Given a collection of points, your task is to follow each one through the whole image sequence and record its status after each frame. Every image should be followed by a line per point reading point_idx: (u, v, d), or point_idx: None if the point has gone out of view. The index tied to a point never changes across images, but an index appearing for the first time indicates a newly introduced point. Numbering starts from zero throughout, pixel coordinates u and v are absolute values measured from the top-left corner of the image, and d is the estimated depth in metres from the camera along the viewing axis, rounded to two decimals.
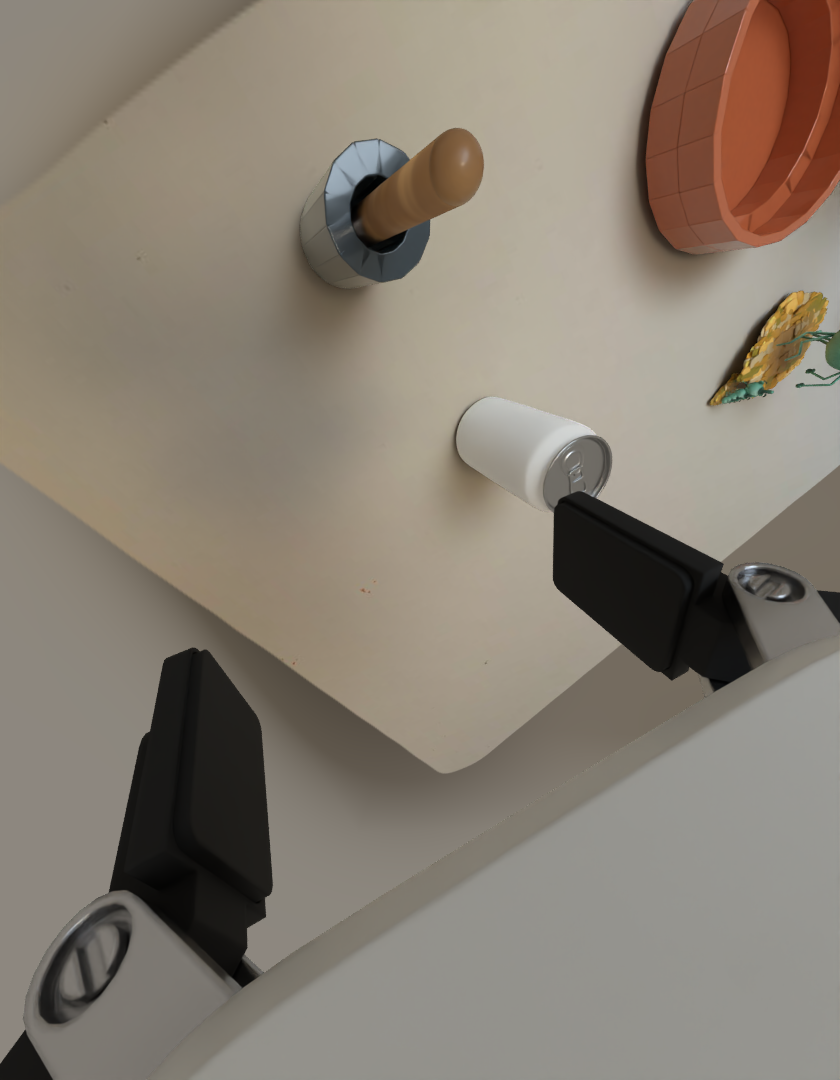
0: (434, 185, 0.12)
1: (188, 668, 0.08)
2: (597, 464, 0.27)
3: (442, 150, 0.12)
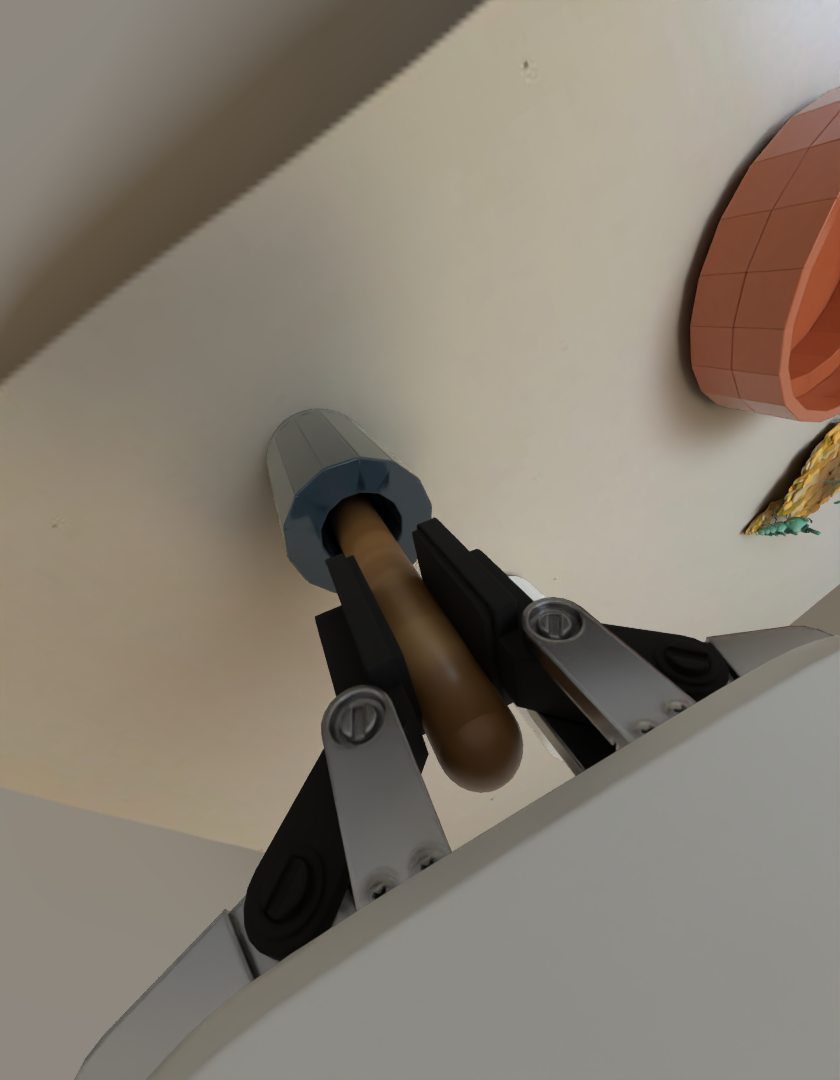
0: None
1: (348, 564, 0.09)
2: None
3: (461, 773, 0.07)
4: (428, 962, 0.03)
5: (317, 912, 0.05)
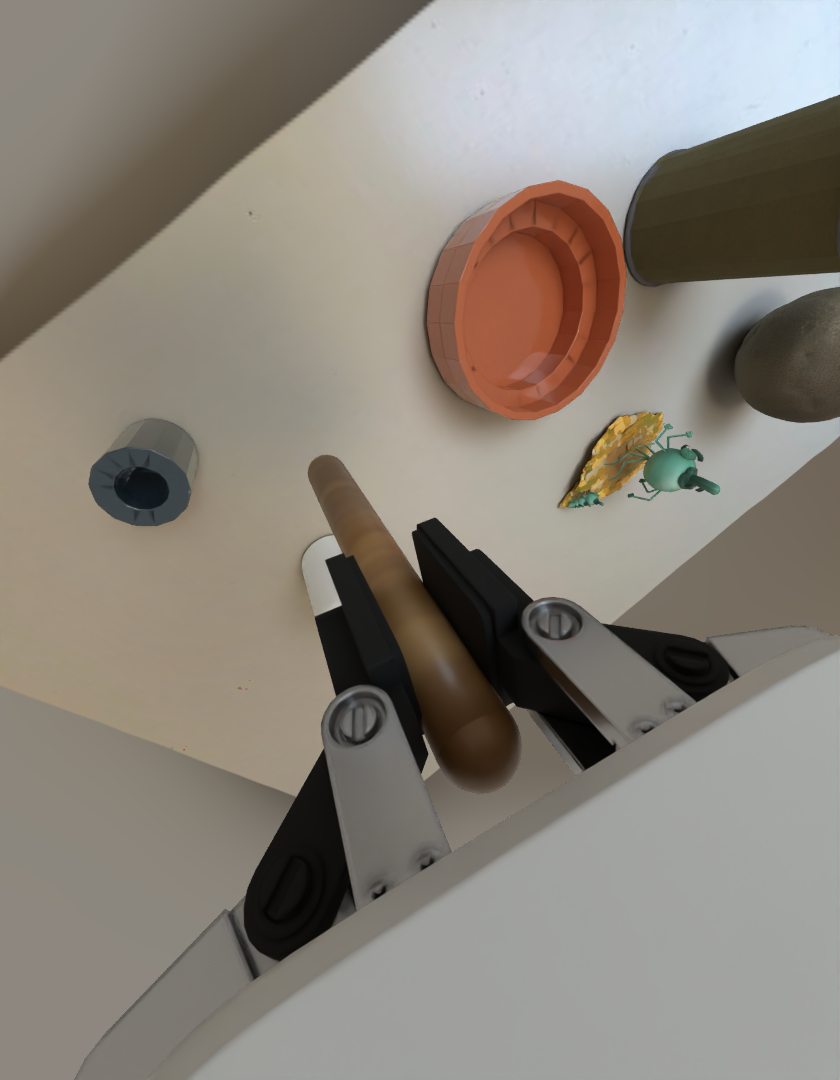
0: None
1: (348, 564, 0.09)
2: None
3: (460, 774, 0.07)
4: (428, 962, 0.03)
5: (317, 912, 0.05)
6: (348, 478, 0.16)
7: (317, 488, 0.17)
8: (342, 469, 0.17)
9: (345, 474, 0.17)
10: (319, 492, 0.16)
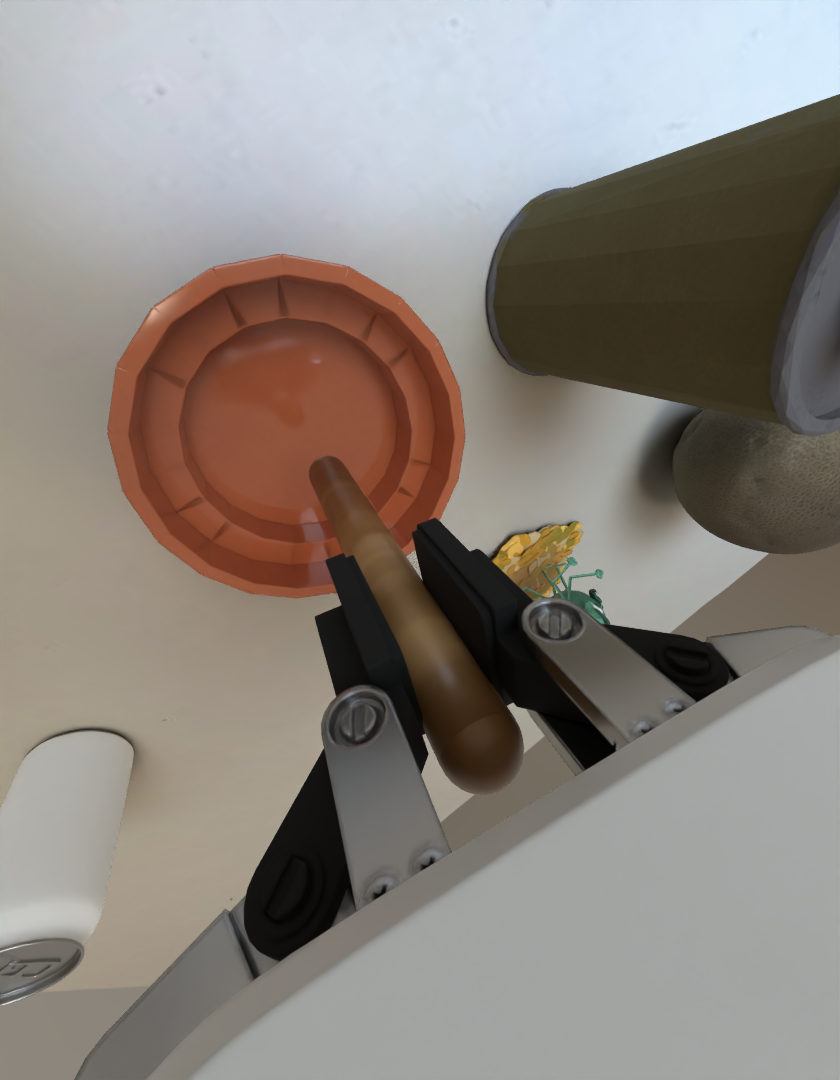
0: None
1: (348, 564, 0.09)
2: (51, 945, 0.20)
3: (462, 775, 0.07)
4: (428, 962, 0.03)
5: (317, 912, 0.05)
6: (349, 479, 0.16)
7: (318, 489, 0.17)
8: (343, 470, 0.17)
9: (346, 475, 0.17)
10: (320, 493, 0.16)
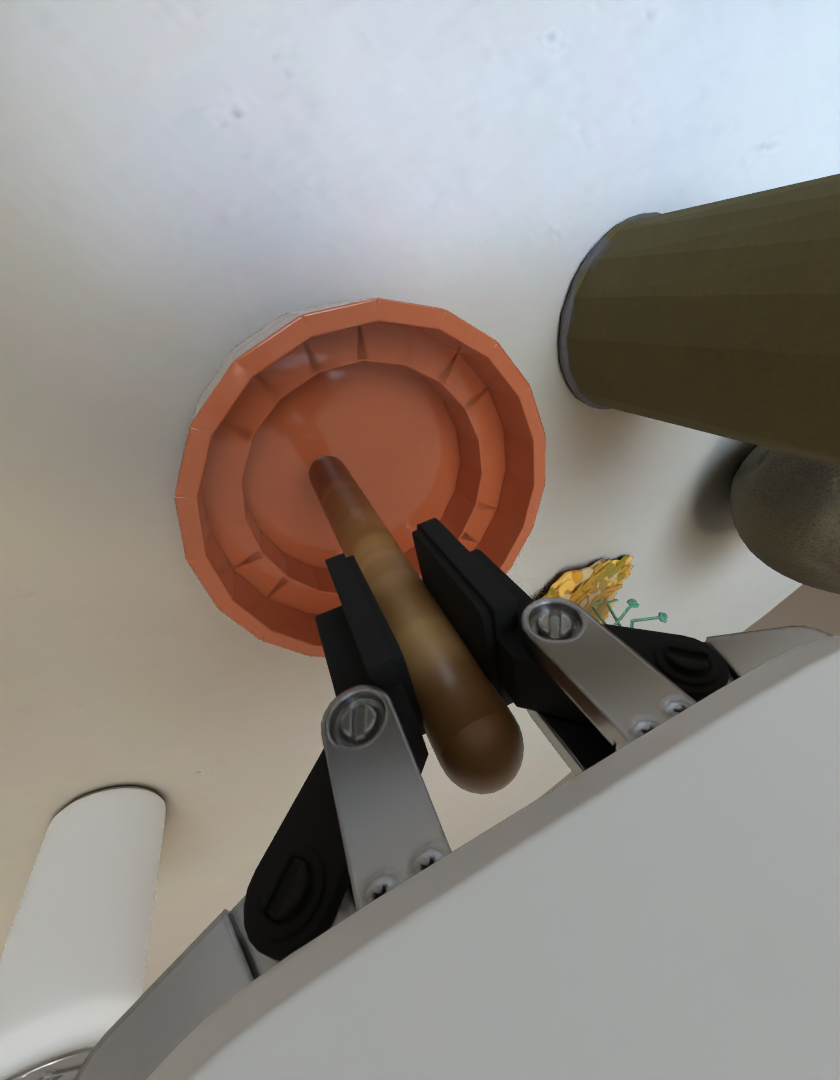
0: None
1: (348, 564, 0.09)
2: None
3: (462, 774, 0.07)
4: (428, 963, 0.03)
5: (317, 912, 0.05)
6: (349, 478, 0.16)
7: (318, 488, 0.17)
8: (343, 469, 0.17)
9: (346, 474, 0.17)
10: (320, 492, 0.16)
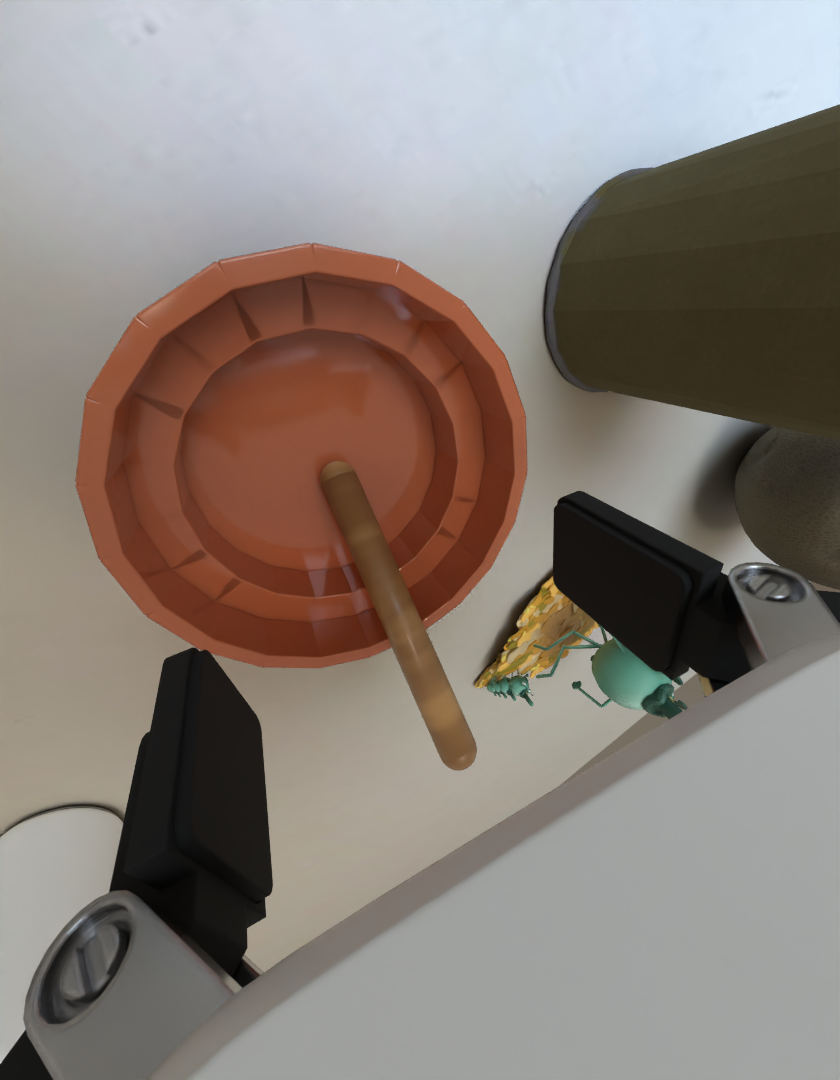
0: (441, 759, 0.18)
1: (188, 668, 0.08)
2: None
3: (456, 769, 0.18)
4: (428, 962, 0.03)
5: None
6: (374, 518, 0.19)
7: (345, 519, 0.18)
8: (366, 499, 0.19)
9: (371, 510, 0.19)
10: (348, 526, 0.18)
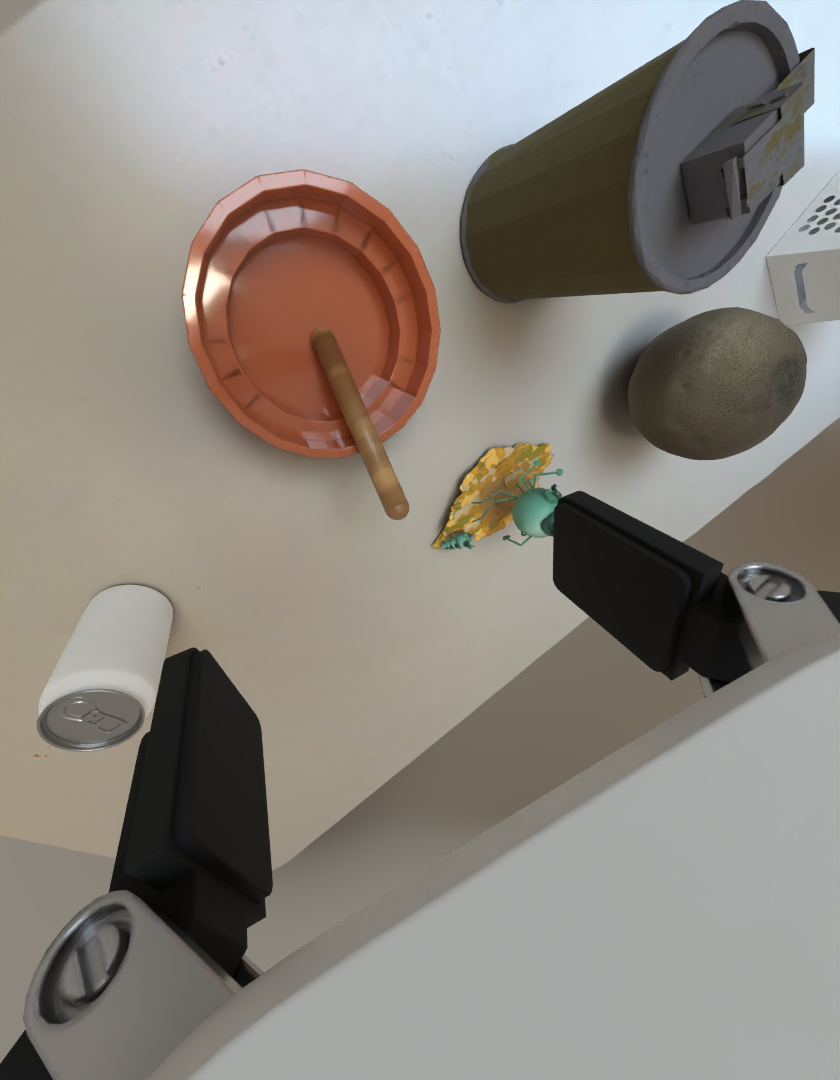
0: (386, 513, 0.29)
1: (188, 668, 0.08)
2: (122, 704, 0.26)
3: (395, 515, 0.28)
4: (428, 962, 0.03)
5: None
6: (345, 363, 0.29)
7: (326, 361, 0.29)
8: (340, 352, 0.29)
9: (343, 358, 0.29)
10: (329, 365, 0.29)
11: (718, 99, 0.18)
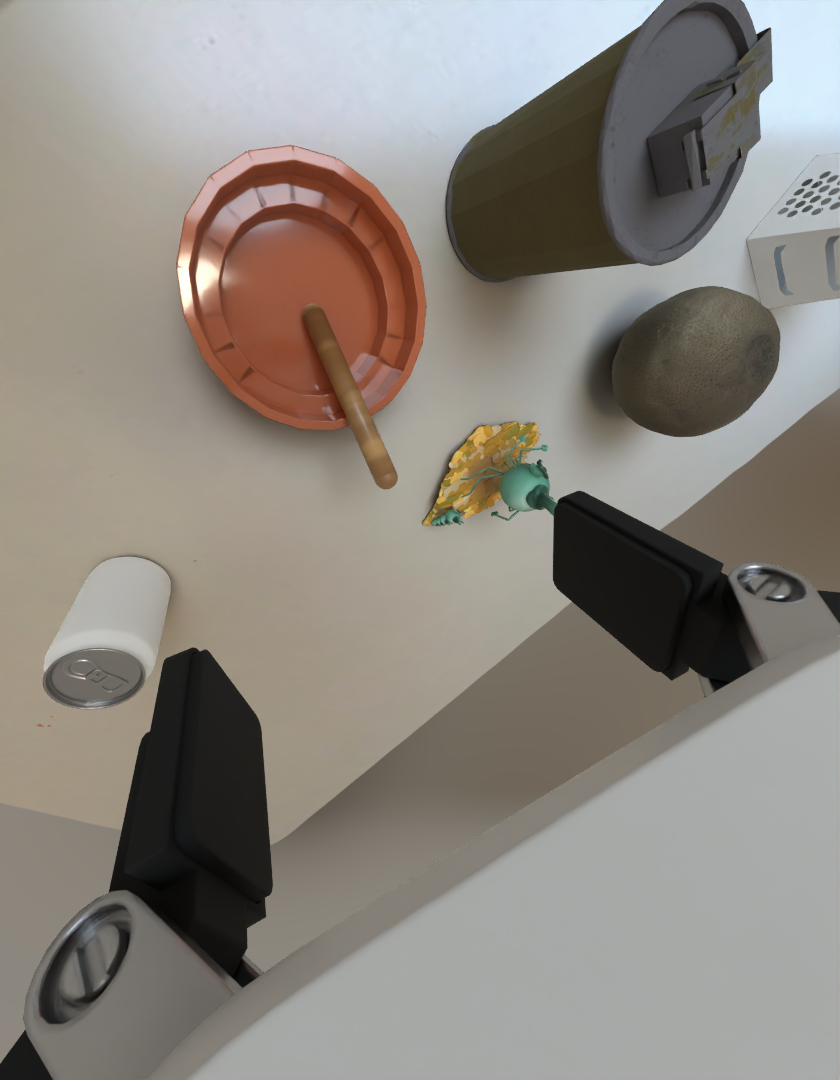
0: (376, 482, 0.30)
1: (188, 668, 0.08)
2: (124, 663, 0.28)
3: (383, 483, 0.30)
4: (428, 962, 0.03)
5: None
6: (335, 338, 0.30)
7: (317, 335, 0.30)
8: (330, 327, 0.30)
9: (333, 333, 0.30)
10: (319, 340, 0.30)
11: (680, 77, 0.19)
